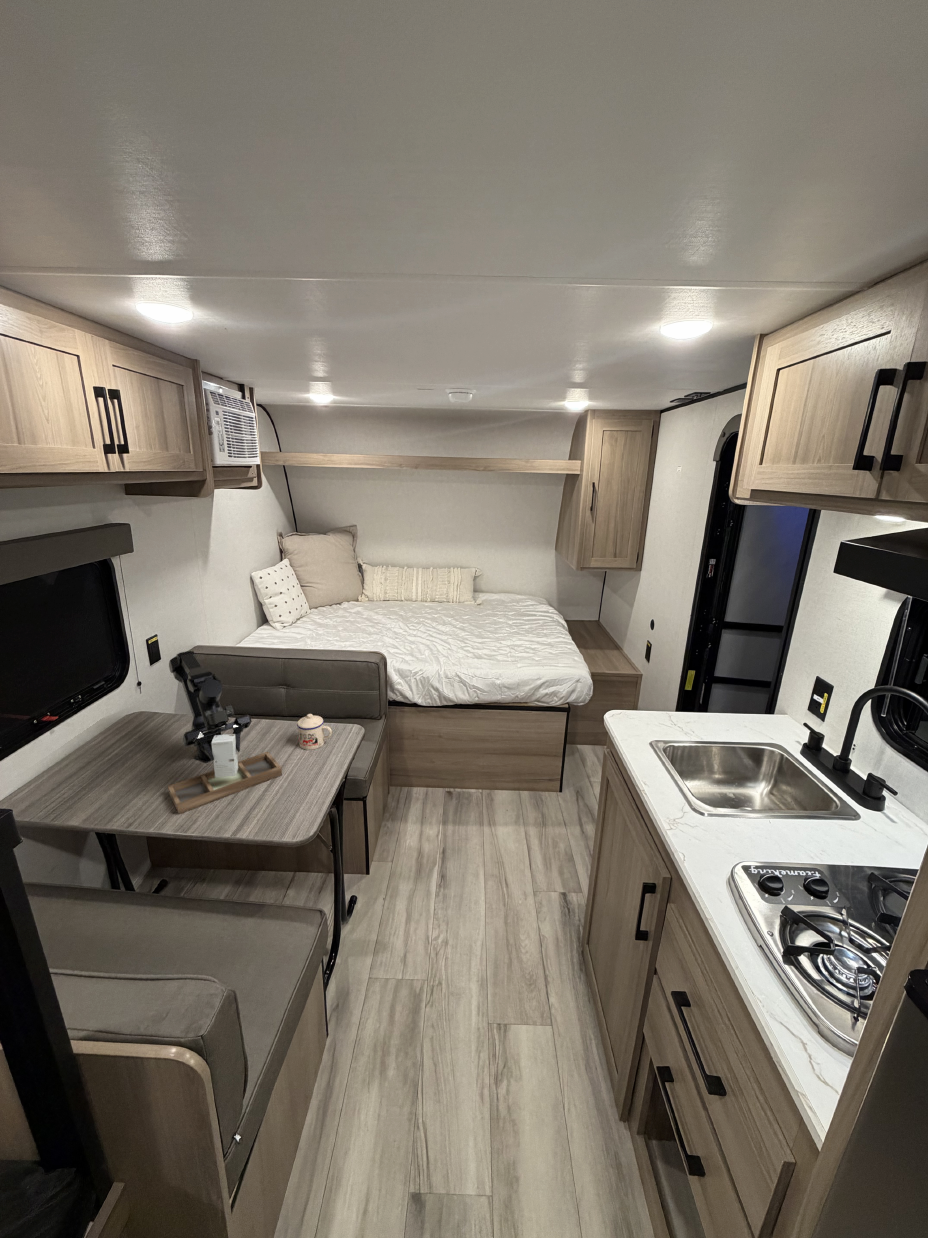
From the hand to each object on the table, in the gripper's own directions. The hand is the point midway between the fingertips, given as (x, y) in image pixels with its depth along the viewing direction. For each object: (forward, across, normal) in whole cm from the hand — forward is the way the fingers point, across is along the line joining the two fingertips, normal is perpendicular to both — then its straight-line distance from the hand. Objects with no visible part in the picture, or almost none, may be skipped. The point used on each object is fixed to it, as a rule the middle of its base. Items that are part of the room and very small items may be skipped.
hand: (226, 756), depth 152 cm
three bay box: (+6, 0, +11) cm, 12 cm away
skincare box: (+4, 0, +6) cm, 7 cm away
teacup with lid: (+3, +32, +14) cm, 35 cm away
